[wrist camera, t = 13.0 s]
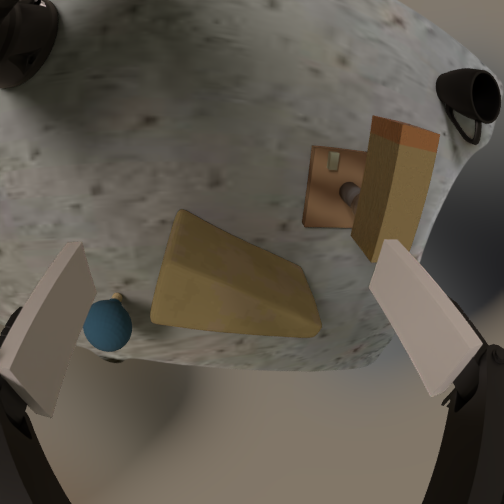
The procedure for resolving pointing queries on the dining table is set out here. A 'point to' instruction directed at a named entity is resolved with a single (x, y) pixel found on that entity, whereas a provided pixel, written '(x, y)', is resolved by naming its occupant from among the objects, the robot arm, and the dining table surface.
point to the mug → (470, 97)
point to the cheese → (230, 285)
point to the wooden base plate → (332, 186)
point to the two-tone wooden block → (393, 184)
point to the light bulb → (108, 324)
